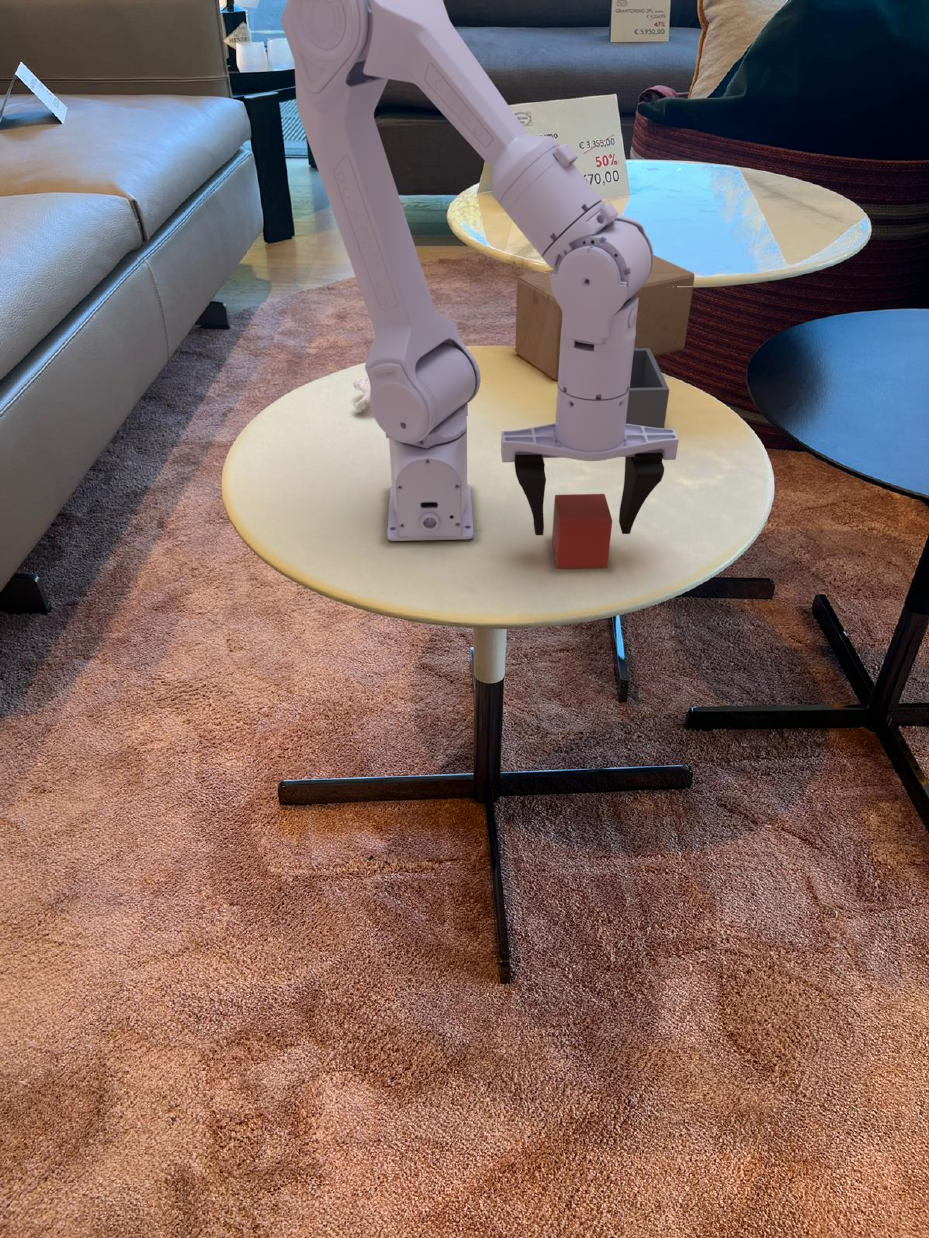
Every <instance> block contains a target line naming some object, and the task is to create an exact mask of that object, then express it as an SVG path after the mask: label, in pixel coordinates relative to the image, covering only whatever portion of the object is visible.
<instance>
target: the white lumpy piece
mask: <svg viewBox="0 0 929 1238" xmlns="http://www.w3.org/2000/svg"><path fill="white" fill-rule="evenodd" d="M367 382H368V377H366V376H365V377H364V376H359V377H358V378H355V379H354V381H353V385H352V386H353V388H354V389H355V390H357V391H361V392H362V393H363V397H362V398H361V399H360V400H359V401H356V402H354V403H353V407H354V409H355V410H356V411H357V412H360V413H362V411H363V406H364V405H365V404H366V403H367V401H368V400H370V392H371V389H370V383H368V384H367Z"/></svg>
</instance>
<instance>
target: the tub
mask: <svg viewBox="0 0 929 1238" xmlns="http://www.w3.org/2000/svg"><path fill="white" fill-rule="evenodd" d="M669 395H670V388H669V386H668V384H667V382H666V379H665V377H664V375H663V373H662V371H661V368H660V367H659V365H658V361H657V360H656V358H655V357H654V356H653V354H652V352H651V350H650V348H634V354H633V363H632V372H631V381H630V388H629V397H628V406H627V415H626V424H632V425H639V426H646V427H653V428H665V423H666V417H667V410H668V403H669Z"/></svg>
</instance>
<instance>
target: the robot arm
mask: <svg viewBox="0 0 929 1238" xmlns="http://www.w3.org/2000/svg"><path fill="white" fill-rule="evenodd" d="M284 5H285V6H284V9H283V11H282V14H281V17H280V24H281V27H282V29H283V32H284V36H285V38H286V41H287V43H288V46H289V49H290V52H291V55H292V58H293V62H294V63H293V64H294V80H295V99H296V101H295V102H296V108H297V112H298V116H299V119H300V122H301V125H302V128H303V130H304V134H305V136H306V140H307V143H308V145H309V148H310V151H311V153H312V156H313V159H314V162H315V165H316V168H317V170H318V173H319V176H320V179H321V182H322V185H323V188H324V191H325V193H326V197H327V199H328V201H329V204H330V208H331V211H332V214H333V216H334V219H335V222H336V224H337V227H338V230H339V234H340V236H341V239H342V243H343V244H344V248H345V250H346V253H347V257H348V258H349V261H350V264H351V267H352V270H353V273H354V276H355V279H356V282H357V285H358V288H359V290H360V293H361V296H362V299H363V302H364V305H365V307H366V310H367V313H368V316H369V318H370V322H371V324H372V327H373V330H374V336H373V340H372V343H371V345H370V347H369V348H370V349H369V351H368V354H367V357H366V360H365V364H364V370H365V372H366V375H367V379H368V382H369V384H370V389H371V392H370V398H369V404H370V405H369V406H370V410H371V413H372V416H373V418H374V420H375V422H376V424H377V425H378V426H379V428H380V429H381V430H382V431H383V432H384V433H385V438H387V439H388V447H389V460H390V461H389V462H390V476H391V487H390V488H389V501H388V502H389V504H388V518H387V519H388V520H387V532H386V537H387V540H388V541H391V542H400V541H401V542H403V541H407V542H409V541H449V540H450V541H451V540H453V541H454V540H471V539H473V538H474V522H473V520H474V519H473V506H472V489H471V485H470V484H469V483H468V416H469V403H470V402H472V401H473V400H474V398H475V397H477V395H478V393H479V390H480V387H481V370H480V368H479V365H478V362H477V360H476V358H475V357H474V355H473V354H472V353H471V351H470V350H469V349H468V348H467V347H466V345H465V343H464V342H463V340H462V339H461V336H460V333H459V329H458V326H457V324H456V323H455V322H453V321H452V320H450V319H449V318H447V317H446V316H444V315H442V314H440V313H439V312H438V311H437V310H436V309H435V308H436V307H435V306H434V302H433V300H432V296H431V293H430V289H429V286H428V283H427V280H426V277H425V274H424V271H423V267H422V265H421V261H420V258H419V256H418V252H417V248H416V246H415V243H414V239H413V236H412V233H411V230H410V226H409V224H408V221H407V217H406V215H405V211H404V207H403V205H402V202H401V199H400V195H399V192H398V188H397V185H396V182H395V179H394V176H393V173H392V170H391V167H390V164H389V161H388V157H387V154H386V152H385V151H386V150H385V148H384V145H383V142H382V138H381V135H380V132H379V130H378V129H379V128H378V126H377V123H376V119H375V110H376V108H377V106H378V103H379V101H380V99H381V97H382V95H383V93H384V90H385V88H386V85H387V84H388V81H389V80H394V81H398V82H399V81H400V82H404V83H405V82H406V83H410V84H411V83H412V84H414V85H416V87H418V88H419V90H420V91H421V92H422V93H423V94H424V95H425V96H426V97H427V98H428V100H430V102H431V103H432V104H433V105H434V106H435V108H437V109H438V111H440V113H441V114H442V115H443V116H444V117H445V118H446V120H447V121H449V123H450V124H451V125H452V126H453V127H454V128H455V129H456V130H457V131H458V132H459V134H460V135H461V136H462V137H463V138H464V139H465V140H466V141H467V143H468V144H469V145H470V146H471V147H472V148H473V149H474V150H475V151H476V153H477V154H478V156H480V157H481V158H482V159H483V161H484V162H485V163H486V164H487V165H488V166H489V167H490V168H491V193H492V197H493V198H494V199H495V201H496V202H497V203H498V204H499V205H500V207H501V208H502V209H503V211H504V212H505V213H506V214H507V216H508V217H509V219H510V220H512V222H513V224H515V226H516V227H517V228H518V229H519V231H520V232H521V233H522V234H523V236H524V237H525V238H526V240H527V241H528V242H529V243H530V244H531V245H532V247H533V248H534V249H535V250H536V252H537V253H538V254H539V256H540V257H542V259H543V261H544V262H545V263H546V264H547V265H548V267H550V268H551V270H554V273H551V274H550V284H551V289H552V292H553V295H554V297H555V299H556V301H557V303H558V304H559V306H560V308H561V310H562V327H561V340H560V357H559V374H558V380H557V390H556V391H557V392H556V393H557V394H556V408H555V422H554V423H550V424H549V423H548V424H543V425H539V426H533V427H528V428H527V427H526V428H522V429H516V430H502V431H501V433H500V434H501V435H500V455H501V457H500V458H501V462H502V463H514V471H515V476H516V478H517V481H518V484H519V486H520V487H521V489H522V491H523V493H524V495H525V497H526V499H527V502H528V504H529V508H530V510H531V511H530V512H531V514H532V519H533V529H534V530H533V532H534V535H535V536H544V531H545V530H544V529H545V522H544V521H545V518H544V501H545V490H546V483H547V477H546V472H545V471H546V470H545V468H546V467H545V466H546V464H545V460H544V459H569V460H576V461H577V460H578V461H585V462H600V461H607V460H611V459H612V460H613V459H616V458H624V479H623V488H622V495H621V500H620V506H619V513H618V523H619V527H620V530H621V534H622V535H630V534H631V532H632V528H633V525H634V523H635V520H636V518H637V517H638V514H639V512H640V510H641V508H642V507H643V505H644V503H645V501H646V499H647V498H648V497H649V495H650V494H651V493H652V491H654V489H655V488H656V487H657V486H658V484H659V483H661V481H662V480H663V477H664V474H665V466H664V463H663V460H664V461H675V460H677V453H678V447H679V446H678V445H679V440H680V439H679V437H678V434H677V432H676V430H675V428H665V427H664V428H653V427H646V426H639V425H632V424H626V415H627V406H628V397H629V388H630V381H631V372H632V363H633V354H634V345H635V336H636V319H637V310H638V301H639V297H637V296H634V297H632V296H633V295H634V294H635V293H636V292H638V291H639V290H640V289H641V288H642V287H643V285H644V284H645V283H646V281H647V280H648V278H649V276H650V274H651V272H652V268H653V262H654V255H655V254H654V249H653V245H652V243H651V240H650V239H649V236H648V235H647V234H646V232H645V229H644V225H642V223H640V222H638V221H637V220H635V219H634V218H631V217H628V216H626V215H619V212H618V210H617V208H615V206H614V205H613V204H612V202H609V203H608V204H606V203H605V202H604V201H603V199H602V198H601V196H599V194H598V193H597V191H596V190H595V189H594V187H593V186H592V184H590V182H589V181H588V180H587V178H585V176H584V175H583V174H582V173H581V171H580V170H579V168H578V167H577V166H576V164H575V162H576V160H578V154H577V153H576V152H575V151H574V149H573V148H572V146H571V145H570V144H569V143H567V142H566V143H564V144H561V145H560V144H559V143H558V142H557V141H556V139H555V138H554V137H553V136H550V135H537V134H531V133H529V132H528V131H527V130H526V128H525V127H524V126H523V124H522V123H521V122H520V120H519V118H518V117H517V116H516V114H515V113H514V111H513V110H512V109H511V107H510V105H509V104H508V102H507V101H506V100H505V99H504V97H503V96H502V94H501V93H500V91H499V89H498V88H497V87H496V86H495V84H494V82H493V81H492V80H491V78H490V77H489V75H488V73H486V71H485V70H484V68H483V67H482V65H481V64H480V62H479V61H478V60H477V58H476V56H475V55H474V53H472V51H471V50H470V48H469V46H468V45H467V44H466V42H465V41H464V40H463V38H462V37H461V36H460V34H459V33H458V30H457V29H456V28H455V27H454V25H453V24H452V22H451V20H450V17H449V14H448V11H447V8H446V6H445V3H444V0H286V3H285V4H284ZM630 297H632V298H630Z"/></svg>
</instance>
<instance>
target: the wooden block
mask: <svg viewBox="0 0 929 1238" xmlns="http://www.w3.org/2000/svg"><path fill="white" fill-rule="evenodd" d="M653 255H654V262H653V268H652V272H651V274H650V276H649V278H648V280H647V281H646V283H645V284H644V285H643V287H642V288H641V289H640V290H639V291H638V292H636V293H635V294H634V295H633V296H632V297H634V296H637V297H639V301H638V310H637V319H636V336H635V345H634V348H650V350H651V352H652V354H653V356H654V358H655V357H658V356H663V355H666V354H671V353H675V352H680V351H683V350H684V348H685V344H686V338H687V331H688V324H689V318H690V312H691V303H692V298H693V290H694V283H695V274H694V272H692V271H691V270H687V269H686V268H683V267H681V266H679V265H676V264H675V263H672V262H670V261H668V260H665V259H663V258H661V257H659V256H657V255H655V254H653ZM544 272H547V273H544ZM548 273H550V274H551V273H554V270H553V269H550V270H546V271H540V272H533V273H530V274H529V273H528V274H524V275H519V276H518V277H517V279H516V307H515V308H516V309H515V310H516V311H515V317H516V318H515V342H514V343H515V344H514V345H515V347H514V348H515V349H514V350H515V351H514V352H515V353H516V354H517V355H518V356H520V357H521V358H522V359H524V360H525V361H526V362H528V363H530V364H531V365H532V366H534V367H535V368H537V369H538V370H540V371H541V372H543V373H544V374H545V375H547V376H548V377H550V378H551V379H553V380H555V381H558V374H559V357H560V340H561V327H562V310H561V308H560V306H559V304H558V303H557V301H556V299H555V297H554V295H553V292H552V289H551V284H550V274H548ZM673 286H674V288H672V287H673ZM677 286H693V287H691V288H677ZM667 287H670V288H667ZM632 297H630V298H632Z"/></svg>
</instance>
